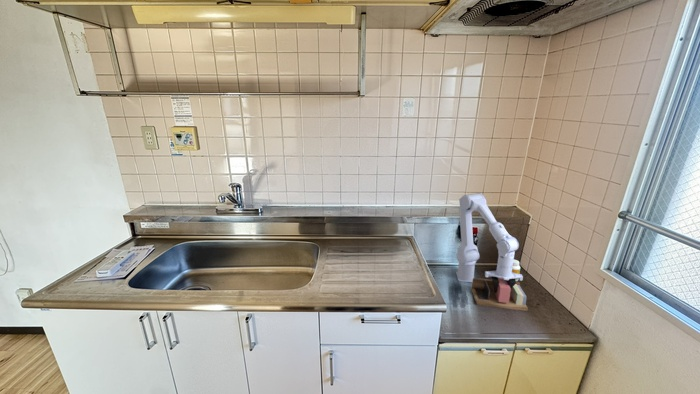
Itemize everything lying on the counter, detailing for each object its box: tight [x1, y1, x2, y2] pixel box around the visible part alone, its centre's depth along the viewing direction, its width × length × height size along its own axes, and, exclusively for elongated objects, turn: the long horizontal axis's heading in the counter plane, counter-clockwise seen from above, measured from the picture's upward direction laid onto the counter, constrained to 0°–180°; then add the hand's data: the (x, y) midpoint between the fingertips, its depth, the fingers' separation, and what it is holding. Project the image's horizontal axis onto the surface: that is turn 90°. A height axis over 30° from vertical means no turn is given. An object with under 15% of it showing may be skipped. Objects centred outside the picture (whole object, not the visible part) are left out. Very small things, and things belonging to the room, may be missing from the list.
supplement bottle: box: [512, 259, 521, 282], centre depth 141 cm, size 5×5×10 cm
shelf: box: [471, 277, 529, 312], centre depth 125 cm, size 12×20×6 cm, turn 78°
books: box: [510, 284, 527, 305], centre depth 124 cm, size 9×4×5 cm, turn 168°
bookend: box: [475, 280, 490, 300], centre depth 128 cm, size 8×4×5 cm, turn 168°
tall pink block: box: [493, 278, 511, 303], centre depth 124 cm, size 9×4×7 cm, turn 168°
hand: (501, 292), depth 124 cm, fingers closed on tall pink block, 4 cm apart
